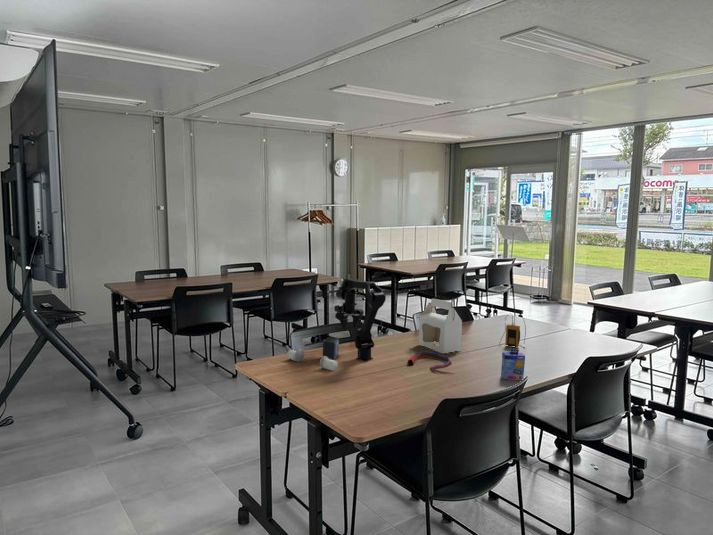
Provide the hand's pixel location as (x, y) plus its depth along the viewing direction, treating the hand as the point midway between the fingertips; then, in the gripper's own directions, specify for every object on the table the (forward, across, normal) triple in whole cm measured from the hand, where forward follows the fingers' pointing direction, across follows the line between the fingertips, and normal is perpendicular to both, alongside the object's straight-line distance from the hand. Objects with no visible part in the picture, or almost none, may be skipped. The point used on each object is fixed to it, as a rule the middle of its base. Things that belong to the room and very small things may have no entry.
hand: (349, 329), depth 284 cm
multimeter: (+13, -75, +65) cm, 100 cm away
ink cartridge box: (+14, -15, +86) cm, 89 cm away
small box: (+13, +16, 0) cm, 21 cm away
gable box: (+13, -42, +34) cm, 55 cm away
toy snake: (+14, -11, +48) cm, 51 cm away
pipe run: (+13, +31, 0) cm, 33 cm away
